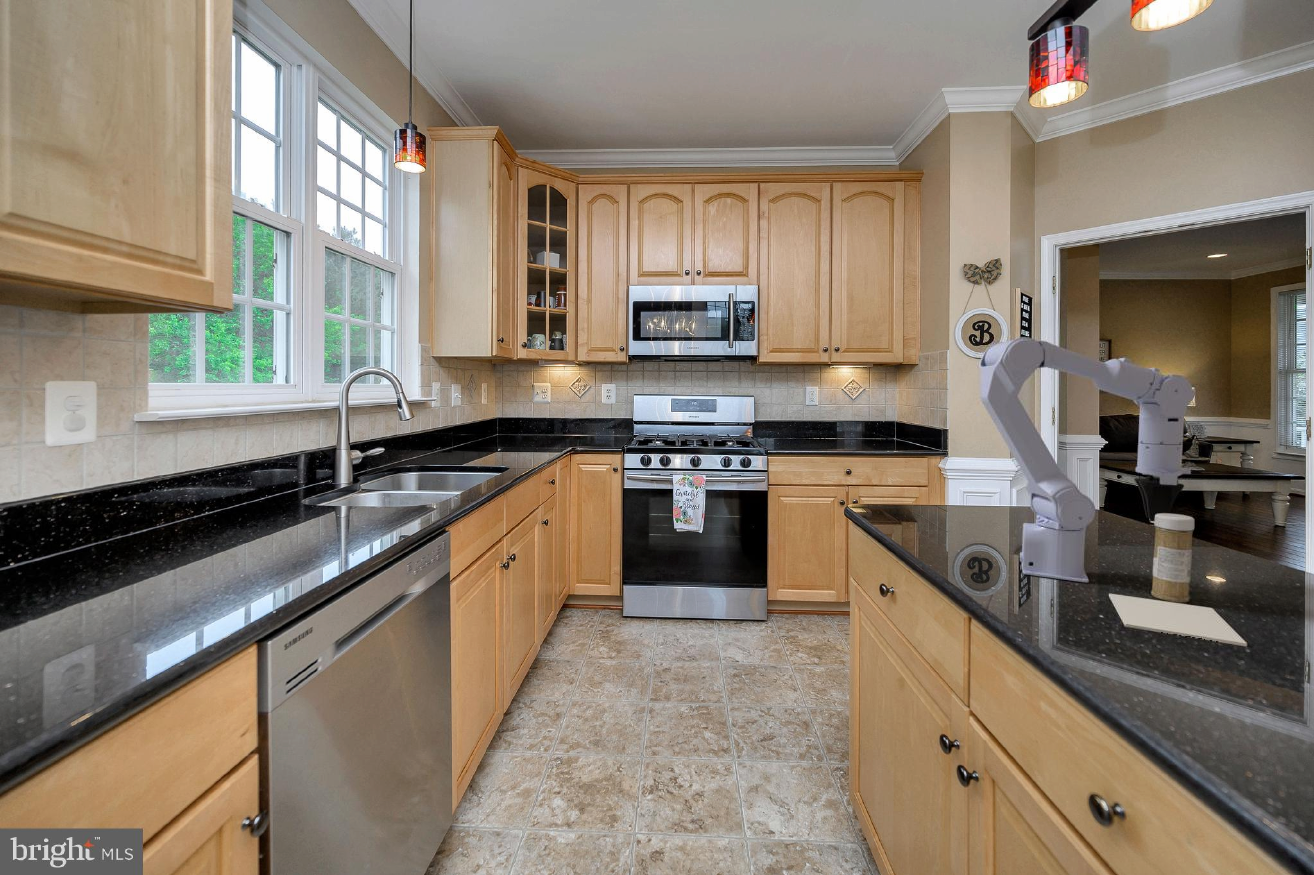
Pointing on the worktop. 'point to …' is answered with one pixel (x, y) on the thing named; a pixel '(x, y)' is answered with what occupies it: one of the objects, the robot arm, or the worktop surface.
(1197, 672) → the worktop surface
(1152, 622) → the silicone mat
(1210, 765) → the worktop surface
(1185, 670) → the worktop surface
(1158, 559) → the sprinkles bottle
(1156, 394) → the robot arm
